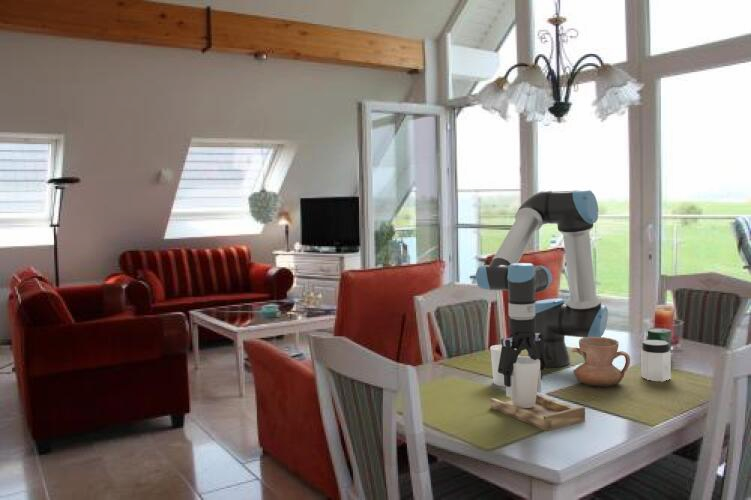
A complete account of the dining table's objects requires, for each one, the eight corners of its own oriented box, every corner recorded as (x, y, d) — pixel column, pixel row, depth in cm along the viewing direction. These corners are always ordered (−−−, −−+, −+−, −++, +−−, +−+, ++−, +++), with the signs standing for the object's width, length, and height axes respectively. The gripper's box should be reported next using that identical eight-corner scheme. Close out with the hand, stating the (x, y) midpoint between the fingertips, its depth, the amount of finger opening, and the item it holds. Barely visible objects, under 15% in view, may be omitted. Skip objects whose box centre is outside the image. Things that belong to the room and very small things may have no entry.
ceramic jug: (568, 387, 206) (568, 344, 205) (573, 375, 219) (573, 334, 218) (629, 393, 199) (629, 348, 197) (630, 380, 212) (631, 337, 211)
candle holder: (523, 379, 216) (522, 344, 215) (519, 388, 207) (518, 351, 206) (493, 378, 220) (492, 343, 219) (489, 386, 210) (488, 350, 209)
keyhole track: (490, 407, 189) (490, 395, 189) (527, 399, 196) (527, 387, 195) (546, 431, 169) (546, 417, 168) (585, 420, 175) (585, 407, 175)
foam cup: (503, 400, 191) (502, 357, 190) (534, 398, 192) (533, 355, 191) (513, 410, 181) (512, 365, 180) (545, 408, 182) (544, 363, 181)
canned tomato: (645, 360, 235) (645, 331, 234) (649, 356, 241) (649, 327, 240) (669, 363, 230) (669, 332, 229) (672, 358, 237) (672, 328, 236)
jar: (659, 383, 207) (659, 346, 206) (636, 378, 214) (636, 342, 213) (675, 378, 212) (675, 342, 211) (652, 373, 218) (652, 338, 218)
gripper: (500, 324, 176) (502, 404, 178) (560, 314, 186) (561, 390, 188) (483, 320, 183) (485, 397, 184) (542, 311, 193) (543, 384, 195)
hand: (523, 394), depth 186 cm, fingers closed on foam cup, 9 cm apart
